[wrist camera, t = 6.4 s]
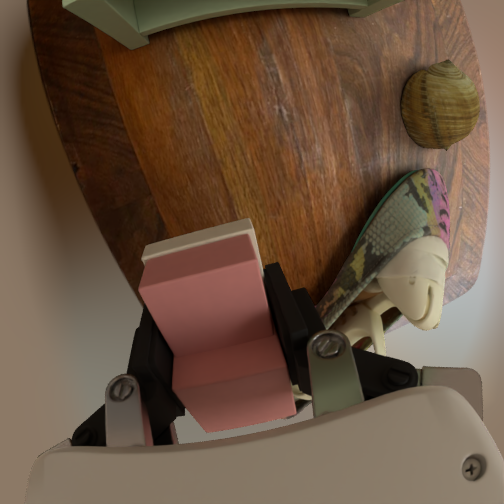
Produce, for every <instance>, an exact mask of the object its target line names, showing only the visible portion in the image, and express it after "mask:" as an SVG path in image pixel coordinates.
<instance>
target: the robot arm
mask: <svg viewBox="0 0 504 504" xmlns="http://www.w3.org/2000/svg"><path fill="white" fill-rule="evenodd" d="M265 268H266V269H263V272H264V281H265V286H266V290H267V295H268V299H269V304H270V308H271V313H272V317H273V321H274V324H275V328H276V331H277V334H278V337H279V340H280V343H281V347H282V350H283V353H284V356H285V359H286V362H287V366H288V371H289V376H290V380H291V383H292V386H294V385H297V384H298V387H299V390H300V392H301V391H302V393H304V394H307V395H309V396H312V406H313V416H314V418H313V419H310V420H306V421H302V422H299V423H295V424H292V425H288V426H284V427H280V428H275V429H271V430H267V431H262V432H257V433H253V434H247V435H242V436H237V437H231V438H225V439H218V440H211V441H204V442H196V443H186V444H179V443H178V438H177V434H176V429H175V425H174V422H173V421H174V420H175V419H176V417H178V416H185V408H186V407H185V406H184V405H183V404H182V402H181V401H180V400H179V399H178V397H177V396H176V395H175V393H174V392H173V391H172V372H173V352H172V351H171V349H170V347H169V346H168V344H167V342H166V340H165V339H164V337H163V335H162V333H161V332H160V330H159V328H158V326H157V325H156V323H155V321H154V319H153V317H152V315H151V313H150V312H149V310H148V308H147V306H146V304H144V308H143V313H142V317H141V321H140V326H139V327H138V328H137V329H136V331H135V335H134V340H133V344H132V349H131V354H130V359H129V364H128V369H127V374H121V375H118V376H116V377H115V378H113V379H112V380H111V381H110V382H109V384H108V386H107V388H106V392H105V404H104V405H103V406H101V408H99V409H98V410H97V411H96V412H95V413H94V414H92V415H91V416H90V417H89V418H88V419H87V420H86V421H84V422H83V423H82V424H81V425H80V426H79V427H78V428H77V429H76V430H75V432H74V434H73V436H72V440H71V439H70V438H68V439H66V440H64V441H63V442H61V443H59V444H57V445H56V446H54V447H52V448H50V449H49V450H47V451H45V452H43V453H42V454H41V455H39V456H38V458H37V459H36V460H35V462H34V464H33V466H32V468H31V471H30V475H29V479H28V483H27V489H26V496H25V504H504V460H503V458H502V456H501V454H500V452H499V450H498V448H497V446H496V444H495V442H494V440H493V438H492V436H491V435H490V433H489V432H488V430H487V428H486V427H485V425H484V423H483V402H482V381H481V377H480V375H479V374H478V373H477V372H476V371H475V370H473V369H470V368H453V367H452V368H451V367H426V366H423V367H422V369H415V367H414V366H413V365H411V364H410V363H408V362H405V361H402V360H398V359H395V358H391V357H387V356H383V355H379V354H376V353H372V352H368V351H365V350H361V349H358V348H354V347H351V344H350V341H349V339H348V337H347V336H346V335H345V334H344V333H342V332H340V331H338V330H332V329H330V330H326V328H325V326H324V324H323V322H322V320H321V318H320V316H319V314H318V312H317V310H316V308H315V306H314V304H313V302H312V300H311V298H310V296H309V294H308V292H307V290H306V289H305V288H300V289H296V290H293V291H291V289H290V287H289V285H288V283H287V280H286V278H285V276H284V274H283V271H282V269H281V267H280V265H279V263H278V262H276V263H272V264H268V265H265Z"/></svg>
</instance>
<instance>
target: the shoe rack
mask: <svg viewBox="0 0 504 504" xmlns="http://www.w3.org/2000/svg"><path fill="white" fill-rule="evenodd" d="M402 1H404V0H62V5H63V8H65V9H67V10H68V11H70V12H72V13H74V14H75V15H77V16H79V17H80V18H82V19H84V20H85V21H87V22H89V23H90V24H92V25H94V26H95V27H97V28H98V29H100V30H102V31H103V32H105V33H106V34H108V35H109V36H111V37H112V38H114V39H115V40H117V41H118V42H120V43H121V44H123V45H124V46H126V47H127V48H129V49H130V50H133V49H136V48H139V47H141V46H144V45H147V44H149V38H148V35H149V34H152V33H155V32H159V31H162V30H165V29H168V28H172V27H176V26H179V25H183V24H187V23H191V22H195V21H199V20H204V19H208V18H213V17H218V16H224V15H230V14H236V13H243V12H250V11H258V10H268V9H281V8H302V7H329V8H347V9H348V12H349V16H352V17H366V16H369V15H371V14H373V13H375V12H378V11H380V10H382V9H384V8H387V7H389V6H392V5H394V4H397V3H399V2H402Z"/></svg>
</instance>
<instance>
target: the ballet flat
mask: <svg viewBox="0 0 504 504" xmlns="http://www.w3.org/2000/svg"><path fill="white" fill-rule="evenodd" d="M449 236H450V213H449V200H448V195H447V190H446V186H445V182H444V180H443V177H442V176H441V175H440V173H439V172H437V171H436V170H434V169H429V168H426V169H421V170H414V171H411V172H409V173H408V174H406V175H405V176H403V177H402V178H401V179H400V180H399V181H398V182H397V183H396V184H395V185H394V186H393V187H392V188H391V189H390V190H389V191H388V192H387V194H386V195H385V196H384V197H383V198H382V200H381V201H380V202H379V204H378V205H377V207H376V208H375V209H374V211H373V213H372V214H371V216H370V217H369V219H368V221H367V222H366V224H365V226H364V228H363V229H362V231H361V233H360V235H359V237H358V239H357V241H356V243H355V245H354V247H353V249H352V251H351V254H350V255H349V256H348V258H347V259H346V261H345V262H344V265H343V266H342V268H341V270H340V272H339V273H338V275H337V277H336V279H335V281H334V282H333V284H332V286H331V287H330V289H329V290H328V291H327V293H326V294H325V296H324V297H323V298H322V299H321V300H320V302H319V303H318V304H317V305H316V306H315V308H316V310H317V312H318V314H319V316H320V318H321V320H322V322H323V324H324V326H325V328H326V330H330V329H332V330H338V331H340V332H342V333H344V334H345V335H346V336H347V337H348V339H349V341H350V344H351V347H354V348H358V349H361V350H365V351H366V350H367V349H368V348H369V347H370V346H371V345H372V344H373V345H374V350H375V353H376V354H379V355H383V356H386V350H385V340H384V333H385V332H386V331H387V330H388V329H389V328H390V327H391V326H392V325H393V324H394V323H395V322H396V321H398V320H399V319H400V318H401V317H402V316H403V315H404V316H405V317H406V318H407V319H408V320H409V321H410V322H411V323H412V324H413V325H414V326H416V327H417V328H419V329H422V330H426V331H427V330H431V329H435V328H437V327H438V325H439V322H440V318H441V312H442V303H443V294H444V285H445V271H446V269H447V267H448V260H449V254H450V243H449ZM290 381H291V380H290ZM291 386H292V383H291ZM292 391H293V396H294V401H295V406H296V414H295V415H292V416H288V417H284V418H280V419H289V418H292V417H294V416H296V415H297V414H298V413H300V412H301V411H302V410H303V409H304V408H305V407H306V406H308V405H309V404H310V403H312V396H309V395H307V394H304V393H302V391H301V392H300V390H299V387H298V384H297V385H294V386H292Z"/></svg>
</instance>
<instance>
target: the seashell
mask: <svg viewBox="0 0 504 504" xmlns="http://www.w3.org/2000/svg"><path fill="white" fill-rule="evenodd" d="M401 110H402V117H403V121H404V123H405V127H406V129H407V132H408V134H409V136H410V137H411V138H412V139H413V141H415V143H416V144H418V145H419V146H422V147H423V148H433V149H446V151H447V150H448V149H449V148H450V146H451V145H452V144H454V143H456V142H458V141H460V140H462V139H464V138H465V137H466V136H468V135H469V133H470V132H471V131H472V130H473V128H474V126H475V124H476V122H477V120H478V117H479V112H480V105H479V96H478V92H477V90H476V87H475V85H474V83H473V82H472V81H471V79H470V78H469V77H468V76H467V75H465V74H464V73H463V72H462V71H460V70H459V69H458V68H457V67H456V66H455V65H454V64H453V63H452V62H451V61H450V60H446V61H443V62H440V63H436V64H433V65H431V66H430V67H429V69H428V71H425V70H420V71H419V72H417V73H415V74H414V75H412V77H411V78H410V79H409V80H408V81H407V85H406V86H405V88H404V92H403V95H402V101H401Z"/></svg>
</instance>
